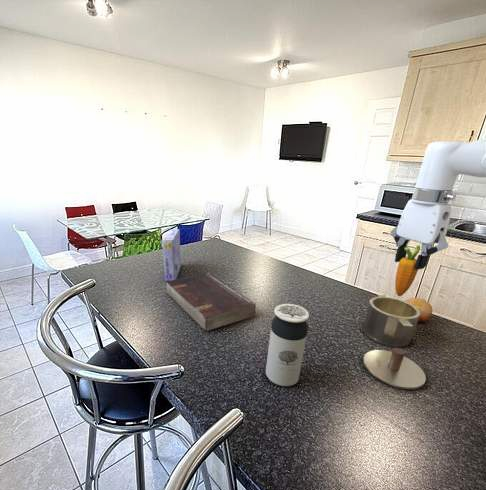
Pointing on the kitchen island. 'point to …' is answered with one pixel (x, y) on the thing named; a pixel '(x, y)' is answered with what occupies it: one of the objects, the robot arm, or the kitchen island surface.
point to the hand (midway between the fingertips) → (409, 264)
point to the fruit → (421, 308)
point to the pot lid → (394, 368)
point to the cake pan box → (171, 254)
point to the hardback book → (210, 300)
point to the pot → (390, 321)
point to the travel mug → (287, 344)
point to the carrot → (406, 272)
